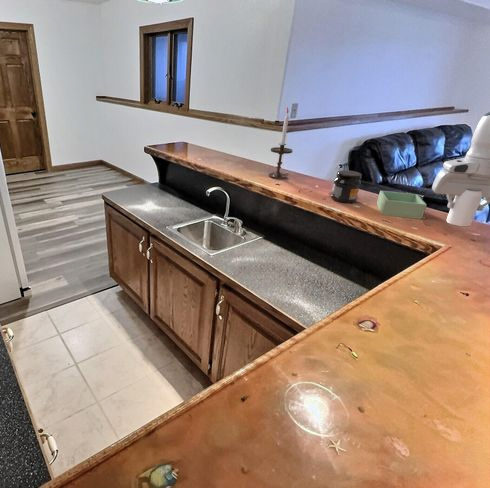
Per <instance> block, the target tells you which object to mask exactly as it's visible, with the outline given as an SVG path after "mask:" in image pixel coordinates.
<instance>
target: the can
mask: <svg viewBox="0 0 490 488" xmlns="http://www.w3.org/2000/svg"><path fill="white" fill-rule="evenodd" d="M481 192H482V191H473V190H467V189H466V191H465V192H464V193H463V194H462V195H455V196H454V198H453V199H452V201H453V203H455V205H454V208H449V211H448V213H447V217H446V223H447V224H449V225H452V226H455V227H459V228H460V227H461V228H467V227H470V226H471V225H472V223H473V221H474V218H475V215H476V213H477V209H478V206H479V204H480V203H481V202H482V198H483V197H482V193H481Z"/></svg>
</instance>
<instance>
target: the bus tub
mask: <svg viewBox="0 0 490 488" xmlns="http://www.w3.org/2000/svg"><path fill="white" fill-rule="evenodd" d="M375 204H376V206H377V208H378V210H379V211H380V214H381V215H382V216H389V217H398V218H407V219H414V220H422V219H423V216H424V214H425V211H426V208H427V207H428V206H427V203H426V202H425V201H424V200H423V199H422V198H421V196H420V195H418V194H417V193H409V192H398V191H390V190H380V191H379V194H378V197H377V201H376V203H375Z"/></svg>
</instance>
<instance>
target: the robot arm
mask: <svg viewBox="0 0 490 488" xmlns="http://www.w3.org/2000/svg"><path fill="white" fill-rule="evenodd" d="M442 167H443V169H441V170H440V171H438V173H437V175H436V176H435V178H434V180H433V183H432V186H431V190H432V191H433V192H434V193H435V194H436V195H446V200H447V201H448V203H447V206H446V207H447V208H448V209H450V208H454V205H455V203H453V199H454V198H455V195H462V194H463V193H464V192H465V191H466V189H467V190H473V191H482V192H481V193H482V198H483V201H480V204H479V206H478V209H477V211H478V212H483V211H484V208H485V207H486V206H488V205H489V204H490V111H489V112H487V113H485V114H484V115H483V116H482V117H481V118H480V119H479V121H478V123H477V125H476V127H475V129H474V132H473V135H472V137H471V140H470V147H469V149H468V151H467V152H466V153H465V156H464V157H461V158H456V159H451V160H446V161H444V162H443V164H442ZM477 211H476V212H477Z"/></svg>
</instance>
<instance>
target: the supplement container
mask: <svg viewBox="0 0 490 488" xmlns="http://www.w3.org/2000/svg"><path fill="white" fill-rule="evenodd" d="M361 179H362V173H361V172H358V171H354V170H345V169H343V170H338V171H337V172H336V177H335V178H333V185H332V189H331V193H330V199H331V200H333V201H335V202H337V201H338V203H342V202H343V204H351V203H355V202H356V201H357V199H358V195H359V191H360V187H361V185H362V182H361Z"/></svg>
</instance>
